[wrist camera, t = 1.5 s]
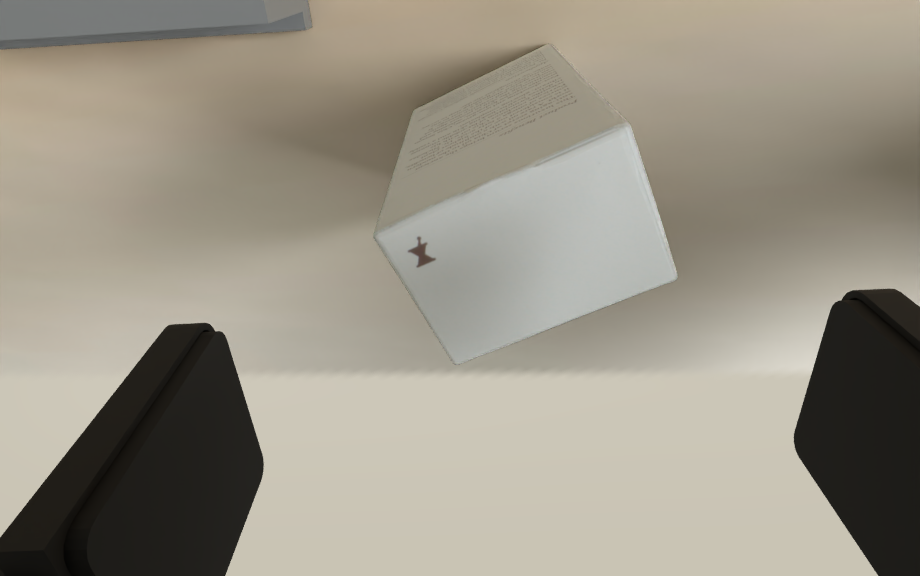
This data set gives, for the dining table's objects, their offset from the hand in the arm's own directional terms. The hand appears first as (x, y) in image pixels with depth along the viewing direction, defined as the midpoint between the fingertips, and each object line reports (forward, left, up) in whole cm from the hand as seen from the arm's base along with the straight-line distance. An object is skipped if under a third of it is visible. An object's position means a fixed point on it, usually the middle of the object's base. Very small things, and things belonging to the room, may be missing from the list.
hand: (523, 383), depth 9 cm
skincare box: (0, 0, -17) cm, 17 cm away
